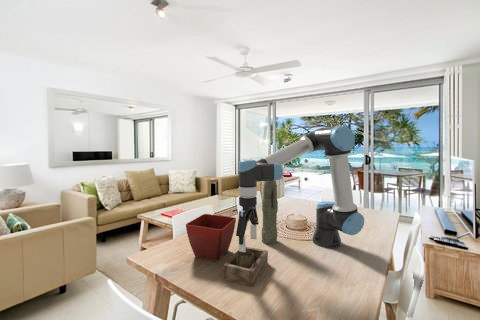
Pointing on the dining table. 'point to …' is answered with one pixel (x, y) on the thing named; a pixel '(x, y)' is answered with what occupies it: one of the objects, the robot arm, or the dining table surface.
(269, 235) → the thermos
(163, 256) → the dining table surface
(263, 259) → the walnut box
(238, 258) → the olive textured bell shape
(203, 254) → the plant pot
